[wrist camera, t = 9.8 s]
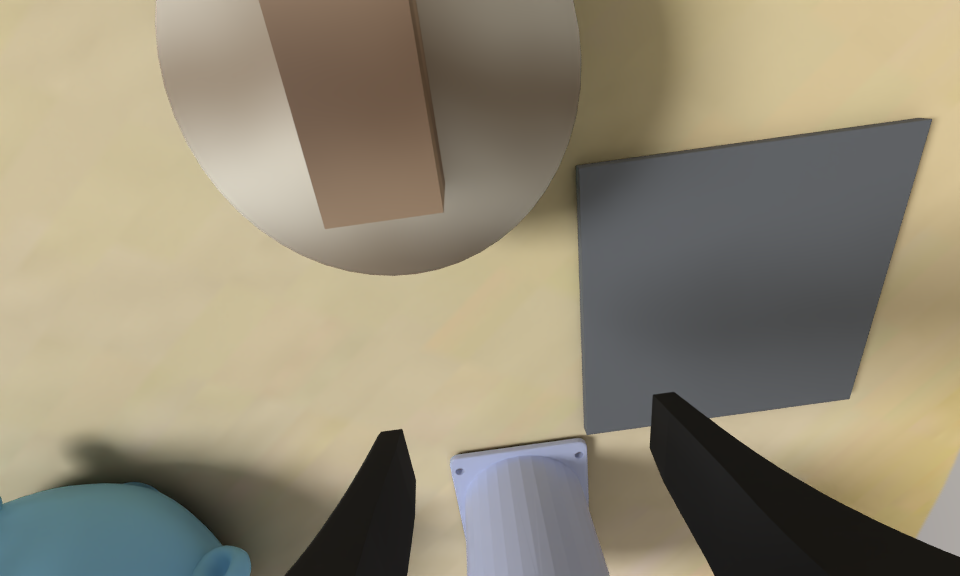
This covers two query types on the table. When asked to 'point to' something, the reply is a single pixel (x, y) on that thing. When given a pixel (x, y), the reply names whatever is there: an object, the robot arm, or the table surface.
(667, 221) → the mat
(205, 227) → the table surface
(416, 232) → the lid
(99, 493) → the decorative pot
